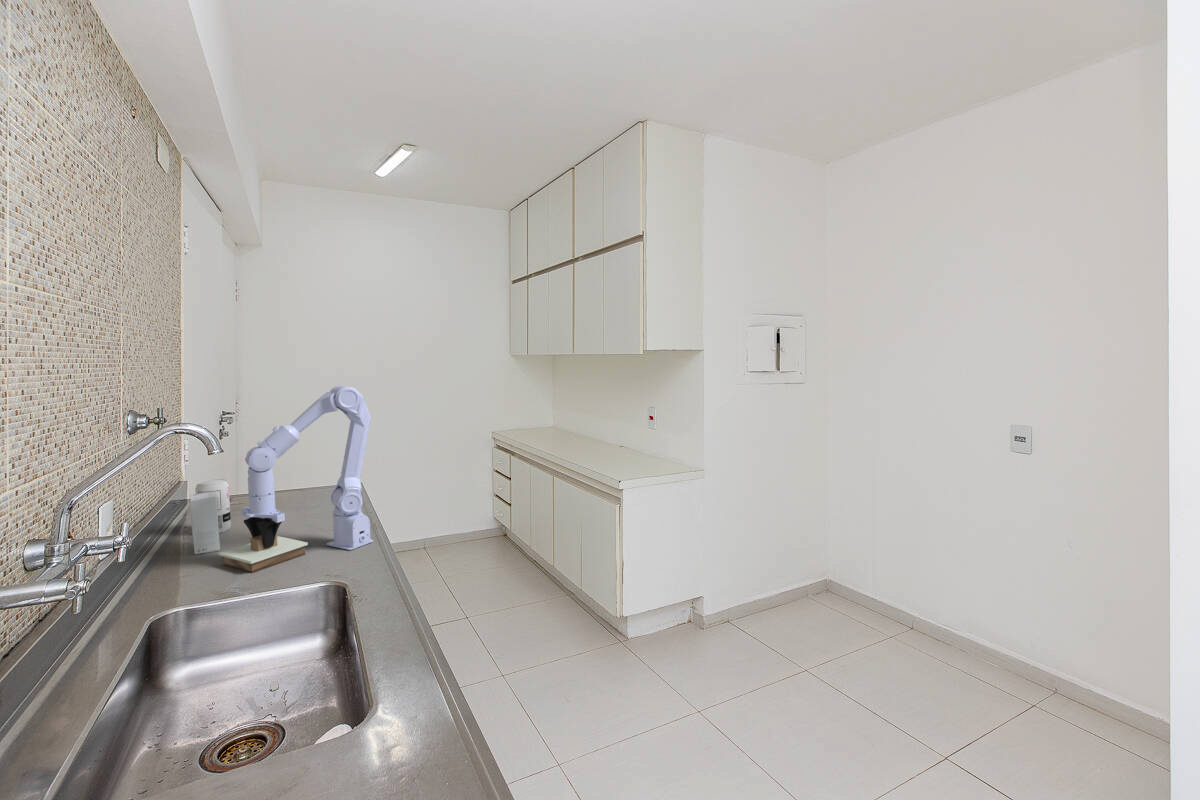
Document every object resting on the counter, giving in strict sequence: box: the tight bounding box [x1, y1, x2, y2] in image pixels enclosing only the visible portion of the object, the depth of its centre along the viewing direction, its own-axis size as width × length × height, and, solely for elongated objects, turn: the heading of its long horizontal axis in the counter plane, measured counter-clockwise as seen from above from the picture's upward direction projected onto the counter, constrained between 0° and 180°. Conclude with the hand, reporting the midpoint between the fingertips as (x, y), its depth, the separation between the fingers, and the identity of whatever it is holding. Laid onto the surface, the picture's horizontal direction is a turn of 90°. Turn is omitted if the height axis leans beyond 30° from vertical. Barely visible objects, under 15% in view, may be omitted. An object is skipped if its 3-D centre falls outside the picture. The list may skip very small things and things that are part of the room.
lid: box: [218, 533, 309, 564], centre depth 143 cm, size 13×15×4 cm
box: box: [221, 546, 306, 574], centre depth 143 cm, size 12×14×2 cm
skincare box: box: [189, 492, 221, 555], centre depth 150 cm, size 8×6×15 cm
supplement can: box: [194, 478, 232, 534], centre depth 165 cm, size 8×8×15 cm
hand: (264, 545), depth 143 cm, fingers closed on lid, 3 cm apart
